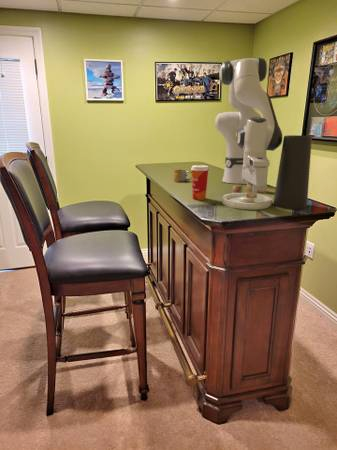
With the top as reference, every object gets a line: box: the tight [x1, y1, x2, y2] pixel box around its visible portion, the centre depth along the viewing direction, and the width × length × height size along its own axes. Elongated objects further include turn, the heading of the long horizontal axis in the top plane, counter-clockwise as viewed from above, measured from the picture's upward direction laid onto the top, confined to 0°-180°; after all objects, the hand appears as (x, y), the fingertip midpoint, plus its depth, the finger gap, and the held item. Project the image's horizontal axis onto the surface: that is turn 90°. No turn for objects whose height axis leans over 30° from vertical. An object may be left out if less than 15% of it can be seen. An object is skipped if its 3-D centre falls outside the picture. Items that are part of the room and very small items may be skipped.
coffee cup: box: [190, 164, 210, 201], centre depth 154 cm, size 8×8×15 cm
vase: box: [272, 134, 313, 210], centre depth 140 cm, size 14×14×29 cm
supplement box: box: [252, 167, 269, 194], centre depth 170 cm, size 8×5×13 cm, turn 71°
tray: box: [220, 192, 273, 211], centre depth 147 cm, size 21×21×2 cm
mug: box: [173, 169, 192, 183], centre depth 199 cm, size 12×7×7 cm, turn 96°
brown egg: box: [231, 184, 242, 193], centre depth 160 cm, size 4×4×5 cm
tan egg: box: [246, 184, 258, 198], centre depth 139 cm, size 4×4×5 cm
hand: (251, 193), depth 140 cm, fingers closed on tan egg, 4 cm apart
